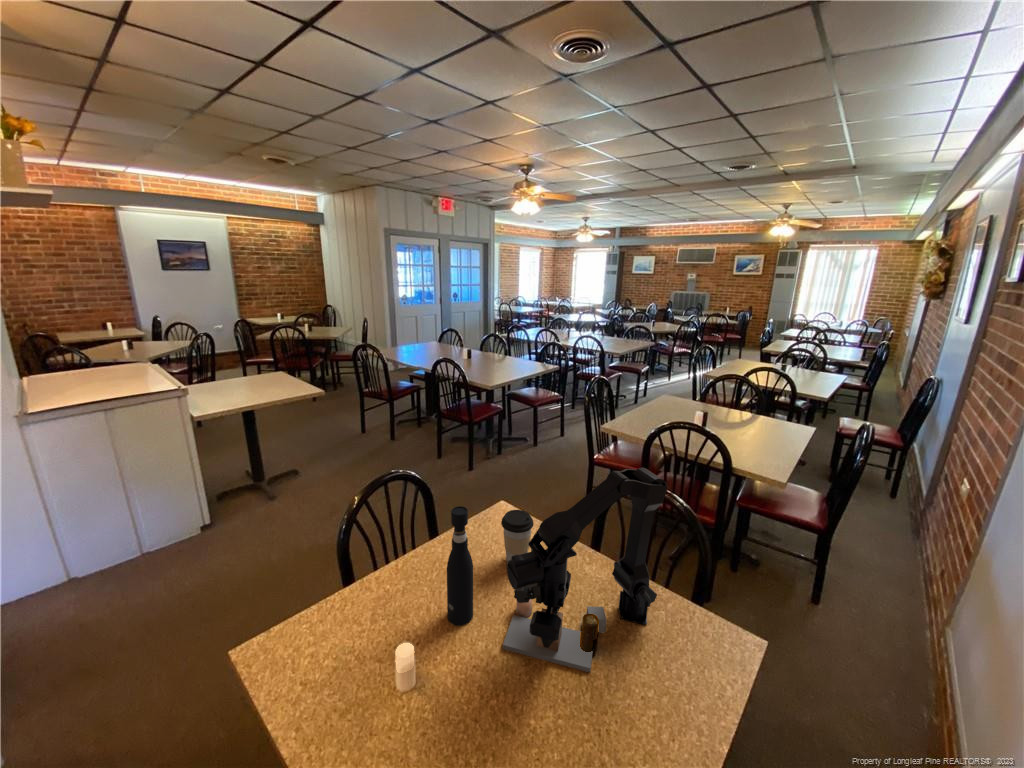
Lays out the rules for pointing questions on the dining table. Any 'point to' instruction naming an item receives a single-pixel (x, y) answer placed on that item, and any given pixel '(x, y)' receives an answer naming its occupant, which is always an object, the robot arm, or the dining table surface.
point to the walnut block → (556, 643)
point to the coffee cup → (516, 532)
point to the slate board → (527, 645)
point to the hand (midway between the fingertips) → (550, 630)
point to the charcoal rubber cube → (600, 614)
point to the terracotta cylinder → (524, 609)
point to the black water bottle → (459, 572)
